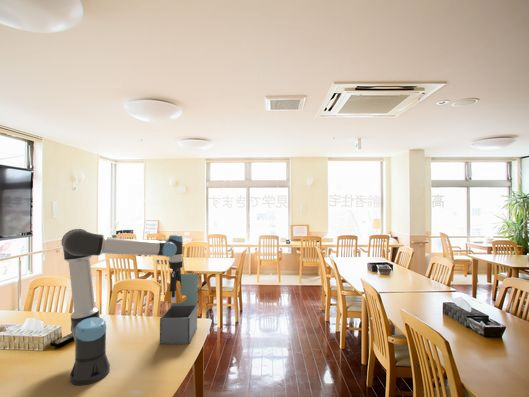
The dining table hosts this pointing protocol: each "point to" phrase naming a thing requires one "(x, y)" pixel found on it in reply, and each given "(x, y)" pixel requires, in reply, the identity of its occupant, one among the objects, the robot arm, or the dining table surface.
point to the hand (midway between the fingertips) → (175, 299)
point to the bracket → (179, 297)
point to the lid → (189, 289)
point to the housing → (178, 325)
